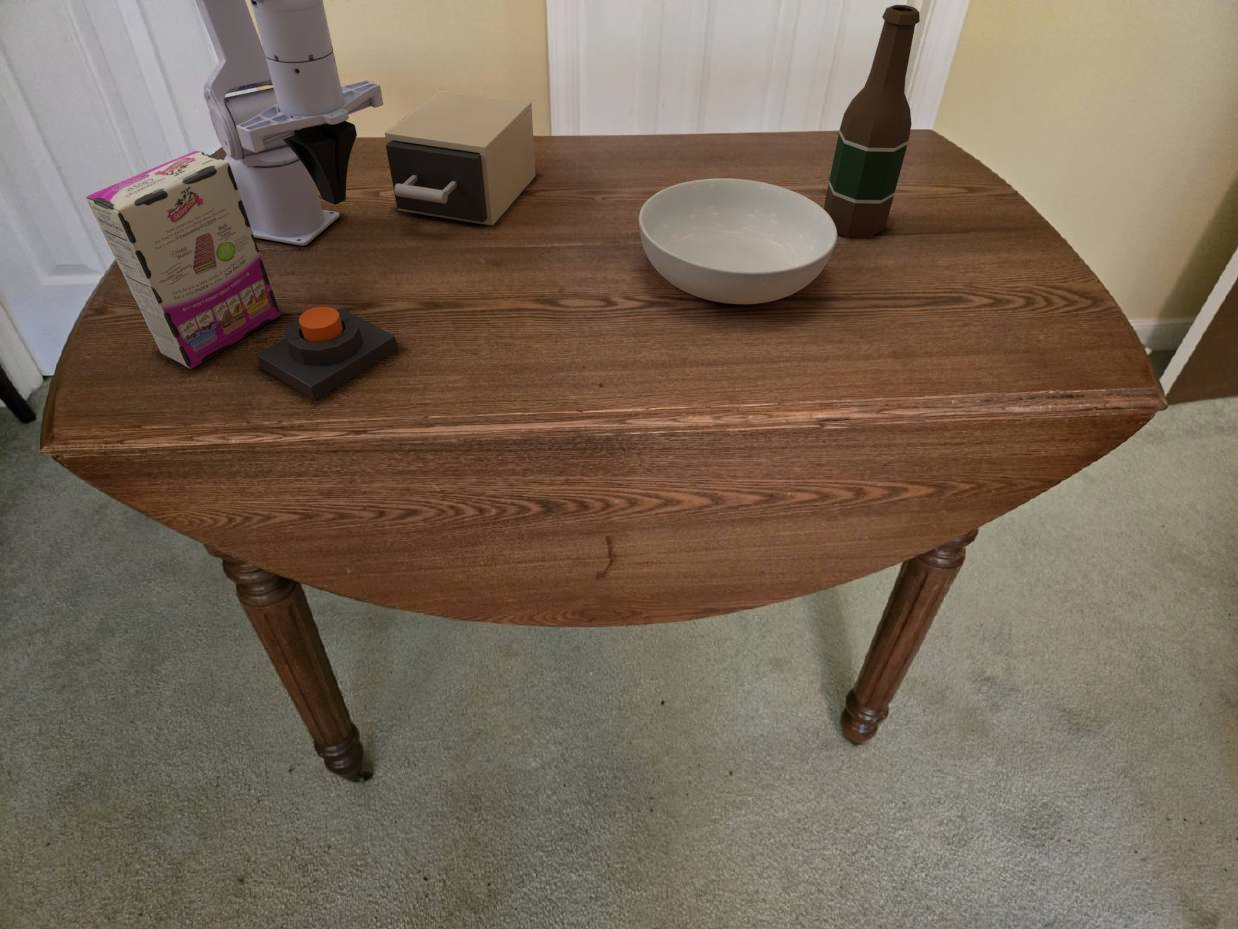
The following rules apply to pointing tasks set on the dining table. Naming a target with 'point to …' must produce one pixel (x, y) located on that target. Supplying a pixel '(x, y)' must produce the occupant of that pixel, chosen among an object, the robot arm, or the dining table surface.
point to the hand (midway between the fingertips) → (334, 199)
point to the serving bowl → (736, 239)
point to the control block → (327, 356)
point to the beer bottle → (874, 135)
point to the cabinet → (478, 140)
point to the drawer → (437, 180)
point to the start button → (320, 324)
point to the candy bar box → (188, 255)
